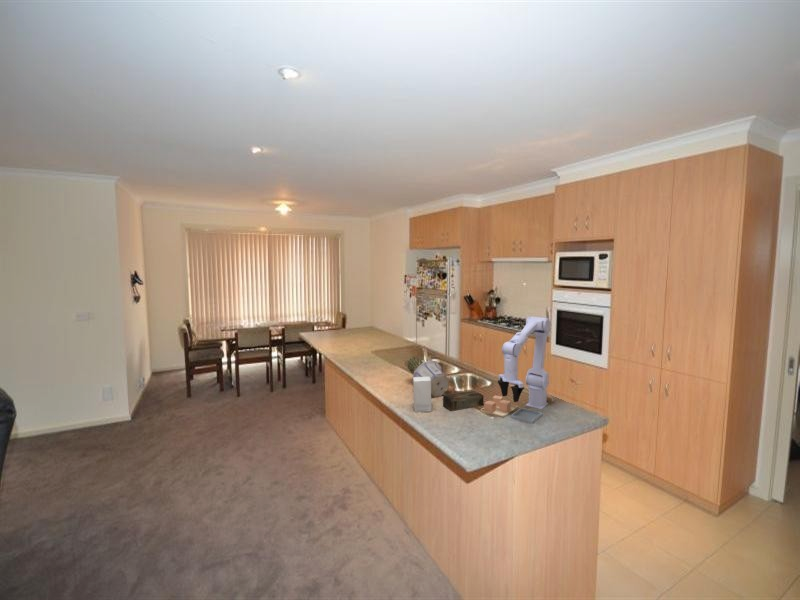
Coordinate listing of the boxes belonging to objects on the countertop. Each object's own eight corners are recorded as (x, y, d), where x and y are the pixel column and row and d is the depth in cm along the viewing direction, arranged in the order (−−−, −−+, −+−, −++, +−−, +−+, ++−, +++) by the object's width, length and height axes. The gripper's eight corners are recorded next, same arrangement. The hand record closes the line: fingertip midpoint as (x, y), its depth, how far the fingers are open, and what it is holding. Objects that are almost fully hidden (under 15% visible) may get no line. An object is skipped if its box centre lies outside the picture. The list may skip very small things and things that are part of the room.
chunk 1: (487, 408, 186) (488, 400, 186) (495, 410, 184) (495, 402, 183) (483, 411, 183) (484, 402, 183) (491, 413, 181) (491, 404, 180)
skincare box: (430, 407, 190) (430, 376, 188) (431, 412, 183) (431, 380, 182) (413, 407, 190) (413, 376, 188) (414, 412, 183) (413, 380, 181)
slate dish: (521, 410, 184) (521, 407, 184) (542, 416, 178) (542, 412, 178) (510, 418, 175) (510, 415, 175) (532, 424, 169) (532, 421, 169)
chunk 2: (494, 403, 193) (494, 395, 193) (502, 404, 192) (502, 396, 191) (492, 405, 190) (492, 397, 189) (500, 407, 188) (501, 399, 188)
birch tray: (495, 402, 195) (495, 400, 195) (518, 408, 188) (518, 406, 188) (479, 412, 183) (479, 410, 183) (503, 418, 176) (503, 416, 175)
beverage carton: (484, 407, 190) (484, 394, 189) (449, 413, 183) (449, 399, 182) (475, 401, 197) (475, 389, 197) (441, 407, 190) (441, 394, 190)
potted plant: (456, 369, 203) (425, 345, 228) (426, 376, 195) (398, 350, 220) (452, 398, 209) (423, 371, 234) (423, 405, 201) (396, 377, 225)
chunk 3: (502, 407, 187) (502, 399, 187) (510, 409, 185) (510, 401, 184) (499, 410, 184) (499, 402, 184) (506, 412, 182) (507, 404, 181)
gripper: (493, 366, 177) (492, 394, 178) (514, 374, 164) (514, 405, 165) (505, 364, 180) (505, 392, 181) (527, 372, 167) (527, 402, 168)
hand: (510, 398), depth 173 cm, fingers open, 7 cm apart
